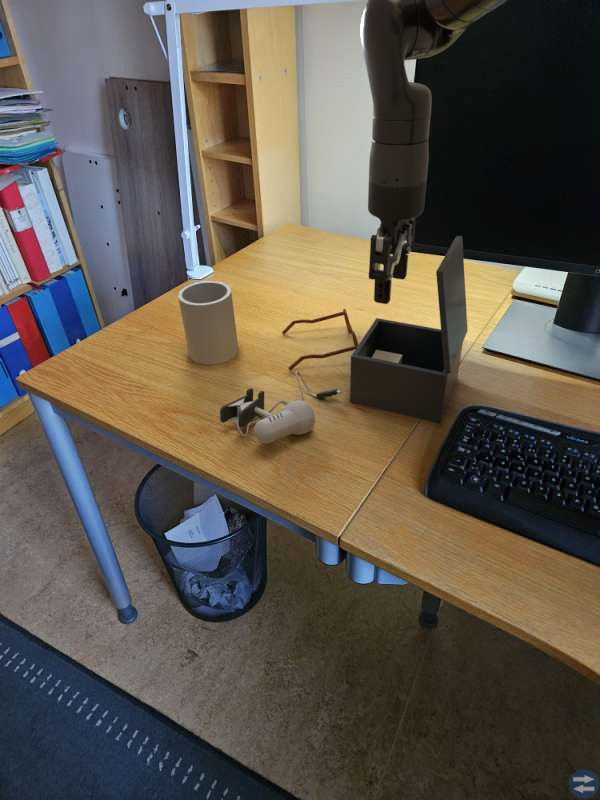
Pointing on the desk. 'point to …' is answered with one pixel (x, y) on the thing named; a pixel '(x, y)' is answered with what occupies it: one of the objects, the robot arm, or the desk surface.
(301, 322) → the glasses
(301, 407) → the clip-on lamp
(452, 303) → the box lid
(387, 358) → the block
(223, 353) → the cup
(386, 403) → the box
